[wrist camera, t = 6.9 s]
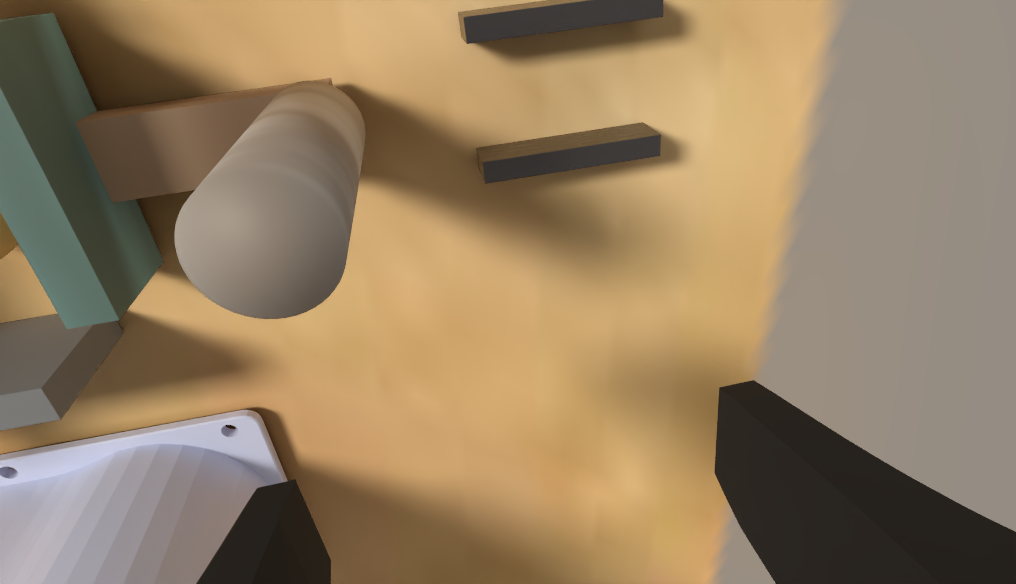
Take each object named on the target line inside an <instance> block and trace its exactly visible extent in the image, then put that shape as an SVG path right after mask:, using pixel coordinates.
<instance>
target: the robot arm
mask: <svg viewBox="0 0 1016 584" xmlns="http://www.w3.org/2000/svg"><path fill="white" fill-rule="evenodd" d="M225 425H232V426H235V427H236V429H230V428H227V427H226V426H225ZM9 467H12V468H14V469H15V470H14V469H11V468H9ZM715 475H716V477H717V479H718V481H719V483H720V485H721V488H722V490H723V492H724V494H725V496H726V498H727V500H728V503H729V505H730V507H731V509H732V511H733V513H734V515H735V517H736V518H737V521H738V523H739V525H740V527H741V528H742V530H743V532H744V533H745V535H746V537H747V538H748V540H749V542H750V543H751V545H752V546H753V548H754V550H755V551H756V553H757V554H758V556H759V557H760V559H761V561H762V562H763V564H764V565H765V567H766V569H767V570H768V572H769V573H770V575H771V577H772V578H773V580H774V581H775V583H776V584H1016V532H1015V531H1013V530H1010V529H1008V528H1006V527H1004V526H1002V525H1000V524H998V523H996V522H994V521H992V520H990V519H988V518H986V517H984V516H982V515H980V514H978V513H976V512H974V511H972V510H970V509H968V508H966V507H964V506H962V505H960V504H959V503H957V502H955V501H953V500H951V499H949V498H948V497H946V496H944V495H942V494H940V493H938V492H936V491H935V490H933V489H931V488H929V487H927V486H926V485H924V484H922V483H920V482H918V481H916V480H915V479H913V478H911V477H909V476H907V475H906V474H904V473H902V472H900V471H899V470H897V469H895V468H894V467H892V466H890V465H889V464H887V463H885V462H883V461H881V460H880V459H878V458H877V457H875V456H873V455H872V454H870V453H868V452H867V451H865V450H863V449H862V448H860V447H858V446H857V445H855V444H854V443H852V442H850V441H849V440H847V439H845V438H843V437H842V436H841V435H839V434H837V433H836V432H834V431H832V430H831V429H829V428H828V427H826V426H825V425H823V424H822V423H820V422H818V421H817V420H815V419H814V418H812V417H810V416H809V415H807V414H806V413H804V412H803V411H801V410H800V409H798V408H796V407H795V406H793V405H792V404H790V403H788V402H787V401H786V400H784V399H782V398H781V397H779V396H778V395H776V394H775V393H773V392H772V391H770V390H768V389H767V388H765V387H764V386H762V385H760V384H759V383H757V382H755V381H754V380H753V381H748V382H743V383H739V384H734V385H730V386H725V387H720V388H719V404H718V422H717V440H716V457H715ZM0 584H331V560H330V557H329V555H328V553H327V551H326V548H325V546H324V544H323V542H322V539H321V537H320V535H319V533H318V530H317V528H316V526H315V523H314V521H313V519H312V517H311V514H310V512H309V510H308V508H307V505H306V503H305V501H304V499H303V496H302V494H301V492H300V490H299V487H298V485H297V483H296V480H291V481H288V480H287V478H286V476H285V473H284V471H283V468H282V466H281V463H280V461H279V459H278V456H277V454H276V451H275V449H274V446H273V444H272V442H271V439H270V437H269V434H268V432H267V429H266V427H265V424H264V422H263V420H262V418H261V416H260V415H259V414H258V413H256V412H255V411H251V410H239V411H234V412H228V413H223V414H218V415H212V416H207V417H201V418H196V419H191V420H185V421H180V422H175V423H169V424H164V425H158V426H153V427H148V428H142V429H137V430H131V431H126V432H121V433H115V434H110V435H104V436H99V437H94V438H88V439H83V440H77V441H72V442H67V443H61V444H56V445H51V446H45V447H40V448H34V449H29V450H24V451H18V452H13V453H7V454H2V455H0Z"/></svg>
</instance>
